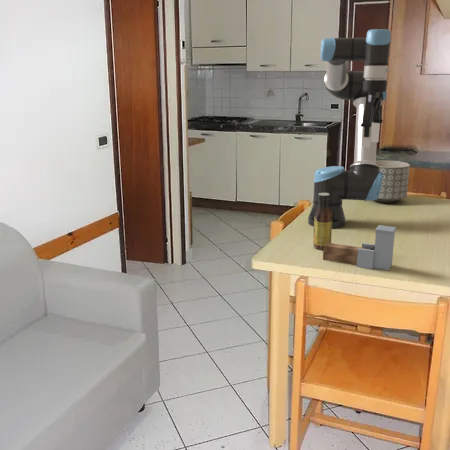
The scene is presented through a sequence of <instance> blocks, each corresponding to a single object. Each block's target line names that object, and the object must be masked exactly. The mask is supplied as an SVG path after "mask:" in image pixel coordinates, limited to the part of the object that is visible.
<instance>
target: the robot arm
mask: <svg viewBox="0 0 450 450" xmlns="http://www.w3.org/2000/svg"><path fill="white" fill-rule="evenodd" d="M391 41H392V39H391V30H390V29H387V28H381V29H380V28H377V29H375V28H371V29H368V31H367V32H366V36H365V37H329V38H328V37H327V38H323V39H322V40H321V41H320V42H321V43H320V44H321V45H320V60H321V61H323V62H326V73H325V74H324V78H323V83H324V87H325V89H326V90H327V92H328V93H330V94H331V95H332V96H334V97H336V98H337V99H340V100H345V101H352V104H353V106H354V107H355V108H356V117H355V132H354V133H355V135H354V151H353V152H354V153H353V157H354V158H353V163H352V164H350V166H349V170H345V167H344V166H342V165H341V166H338V165H337V166H336V165H332V166H331V165H330V166H325V167H320V168H318V169H317V170H315V172H314V179H313V201H312V202H313V203H312V207H311V209H310V212H309V214H308V216H307V217H308V218H307V222H308V224H309V225H310V226H313V227H314V215H315V212H316V210H317V207H318V200H319V199H318V194H319V193H329V194H330V198H329V208H330V210H331V212H332V229H338V228H341V227H345V226H346V215H345V213H344V212H345V211H344V209H343V200H345V201H347V200H348V201H349V200H351V201H365V202H367V201H369V202H370V201H376V200H377V199H378V197H379V194H380V190H381V185H382V180H383V172H381V171H380V172H379V166H378V165H377V164H376V161H377V146H378V143H379V141H380V127H381V124H382V123H383V119H382V105H383V101H385V100H386V99H387V88H388V87H387V86H388V81H387V78H388V73H389V72H390V71H391V70H390V68H389V60H390V47H391ZM363 61H364V66H363V70H348V62H363Z"/></svg>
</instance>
